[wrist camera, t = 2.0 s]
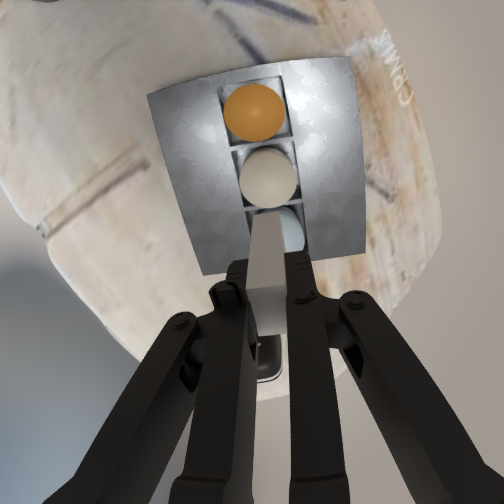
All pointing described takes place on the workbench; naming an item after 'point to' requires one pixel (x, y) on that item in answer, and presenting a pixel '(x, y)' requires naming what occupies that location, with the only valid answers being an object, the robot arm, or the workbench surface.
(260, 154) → the ivory button
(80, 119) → the workbench surface
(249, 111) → the orange button
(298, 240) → the pale blue button
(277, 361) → the battery charger
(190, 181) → the panel
